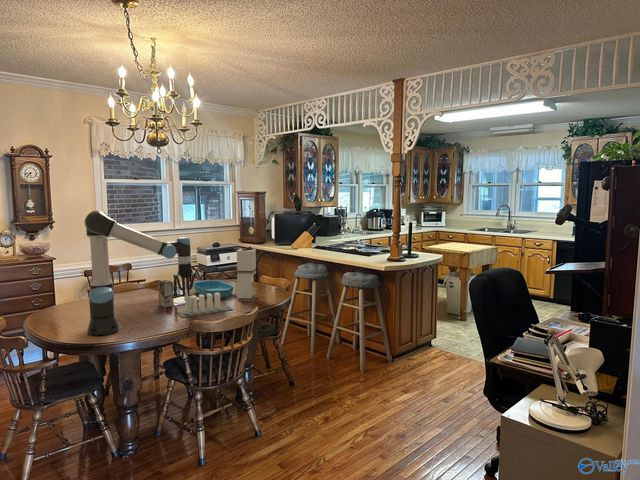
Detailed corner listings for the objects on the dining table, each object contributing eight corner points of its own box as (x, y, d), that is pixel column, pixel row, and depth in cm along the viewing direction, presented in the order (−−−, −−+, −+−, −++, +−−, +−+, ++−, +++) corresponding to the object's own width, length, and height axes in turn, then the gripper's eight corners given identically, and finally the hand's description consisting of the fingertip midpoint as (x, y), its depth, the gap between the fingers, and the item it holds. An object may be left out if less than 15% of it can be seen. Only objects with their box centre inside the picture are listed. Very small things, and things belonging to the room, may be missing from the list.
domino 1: (184, 313, 258) (189, 297, 258) (182, 311, 262) (187, 296, 262) (188, 314, 259) (193, 298, 259) (186, 312, 263) (191, 296, 264)
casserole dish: (239, 296, 305) (239, 286, 304) (210, 301, 291) (210, 291, 290) (216, 287, 333) (215, 278, 332) (188, 291, 319) (188, 282, 318)
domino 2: (193, 313, 260) (193, 297, 259) (191, 311, 264) (191, 295, 263) (196, 313, 261) (197, 297, 260) (194, 311, 266) (194, 295, 265)
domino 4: (209, 311, 265) (208, 295, 264) (207, 309, 270) (206, 293, 268) (212, 310, 266) (212, 295, 265) (210, 308, 271) (210, 293, 270)
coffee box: (174, 305, 280) (173, 281, 278) (165, 307, 276) (164, 283, 274) (167, 303, 287) (166, 279, 285) (158, 304, 282) (157, 281, 280)
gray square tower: (253, 301, 291) (252, 250, 287) (237, 301, 291) (236, 250, 287) (256, 297, 302) (255, 248, 298) (241, 296, 303) (240, 248, 298)
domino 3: (201, 312, 263) (200, 296, 262) (199, 310, 267) (198, 294, 266) (205, 311, 264) (204, 296, 263) (202, 309, 268) (202, 294, 267)
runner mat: (181, 318, 253) (181, 317, 253) (177, 313, 263) (176, 312, 263) (233, 310, 270) (233, 309, 270) (226, 305, 280) (226, 304, 280)
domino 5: (217, 309, 268) (216, 294, 267) (214, 308, 272) (214, 292, 271) (220, 309, 269) (220, 294, 268) (218, 307, 273) (217, 292, 272)
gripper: (174, 264, 250) (176, 303, 253) (197, 262, 257) (198, 300, 260) (172, 262, 257) (174, 300, 260) (193, 260, 263) (195, 297, 266)
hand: (186, 300), depth 260 cm, fingers closed
